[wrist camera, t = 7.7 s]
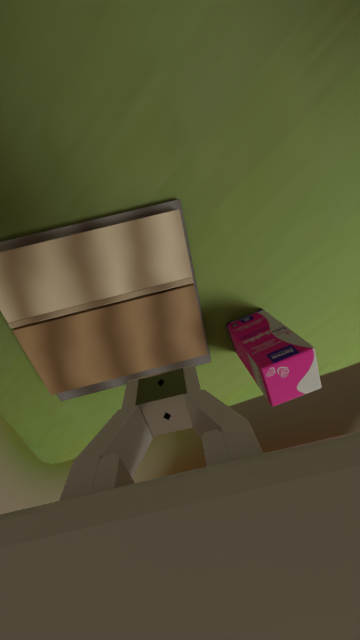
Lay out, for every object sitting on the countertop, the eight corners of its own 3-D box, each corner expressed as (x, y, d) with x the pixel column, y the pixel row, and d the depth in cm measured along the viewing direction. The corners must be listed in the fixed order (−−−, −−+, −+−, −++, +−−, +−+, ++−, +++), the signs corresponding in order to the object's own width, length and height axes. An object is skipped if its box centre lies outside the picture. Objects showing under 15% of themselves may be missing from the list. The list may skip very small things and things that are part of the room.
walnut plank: (192, 282, 27) (194, 285, 26) (205, 348, 31) (208, 354, 30) (19, 325, 27) (12, 330, 25) (55, 387, 31) (51, 395, 29)
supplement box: (261, 306, 31) (318, 347, 21) (270, 339, 34) (324, 390, 23) (224, 322, 31) (261, 370, 21) (235, 353, 34) (273, 410, 23)
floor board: (178, 199, 24) (182, 197, 22) (209, 358, 34) (214, 368, 31) (-24, 248, 24) (-44, 251, 21) (63, 396, 33) (56, 409, 31)
